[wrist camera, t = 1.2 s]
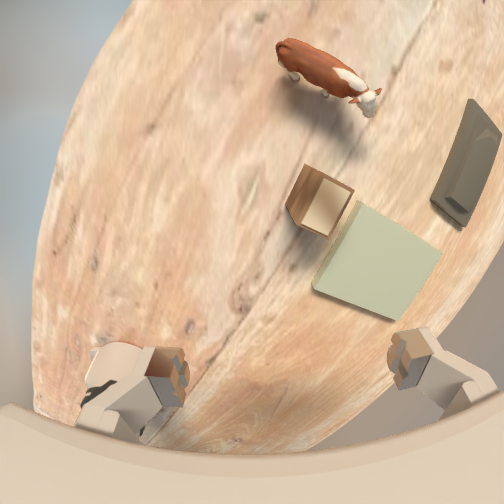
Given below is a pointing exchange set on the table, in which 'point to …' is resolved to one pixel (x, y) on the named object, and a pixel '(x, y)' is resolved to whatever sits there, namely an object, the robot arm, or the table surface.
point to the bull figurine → (326, 73)
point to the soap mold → (467, 164)
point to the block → (318, 201)
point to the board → (376, 264)
